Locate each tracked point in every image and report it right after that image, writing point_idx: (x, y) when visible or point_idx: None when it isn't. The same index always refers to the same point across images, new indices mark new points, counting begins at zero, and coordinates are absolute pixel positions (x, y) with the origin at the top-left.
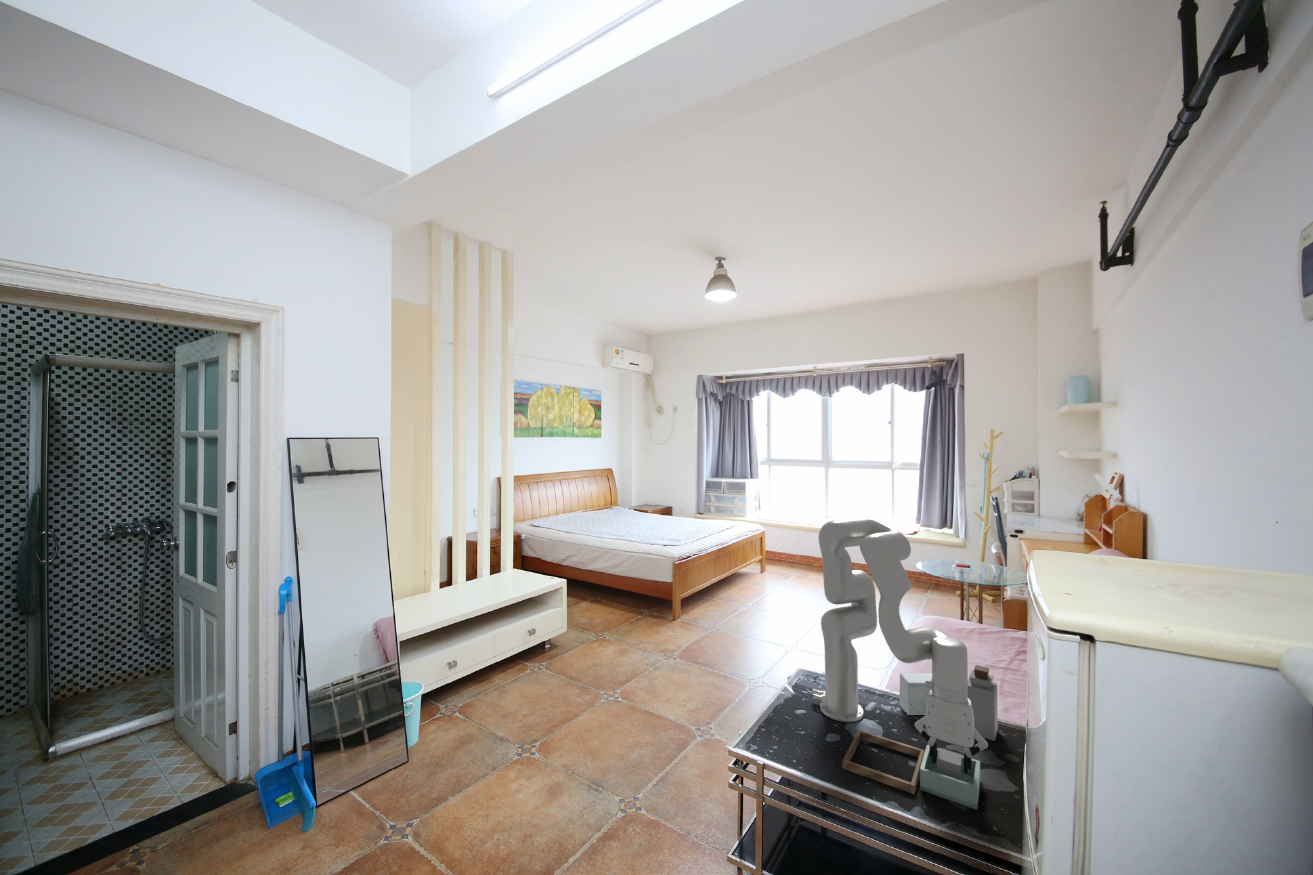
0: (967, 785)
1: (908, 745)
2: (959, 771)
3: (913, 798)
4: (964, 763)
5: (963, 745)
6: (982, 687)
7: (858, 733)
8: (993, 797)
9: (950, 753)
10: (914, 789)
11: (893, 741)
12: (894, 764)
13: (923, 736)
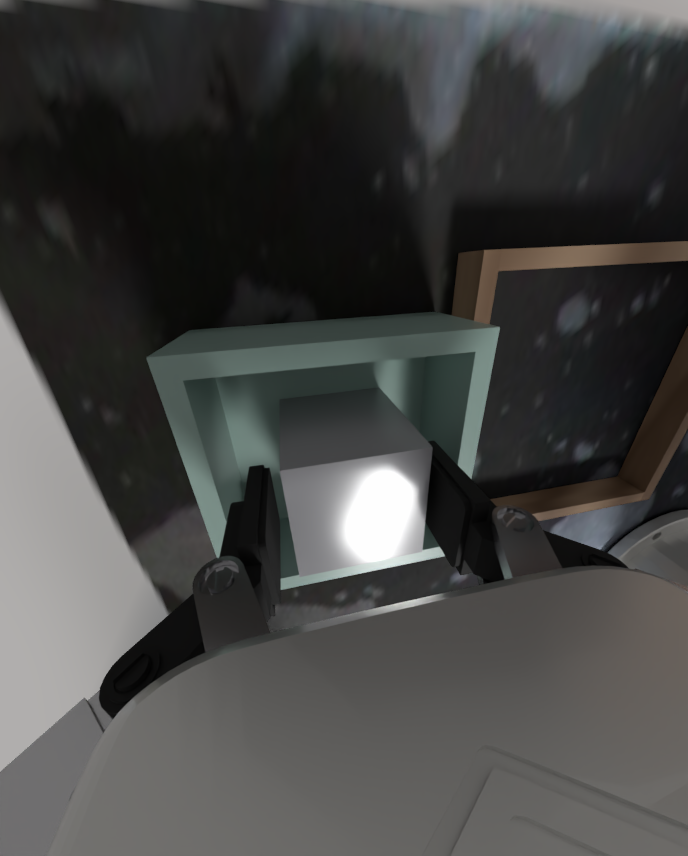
0: (213, 350)
1: None
2: (287, 446)
3: (461, 211)
4: (261, 504)
5: (236, 658)
6: None
7: (655, 478)
8: (170, 466)
9: (360, 545)
10: (468, 260)
11: (542, 515)
12: (525, 415)
13: (588, 547)
